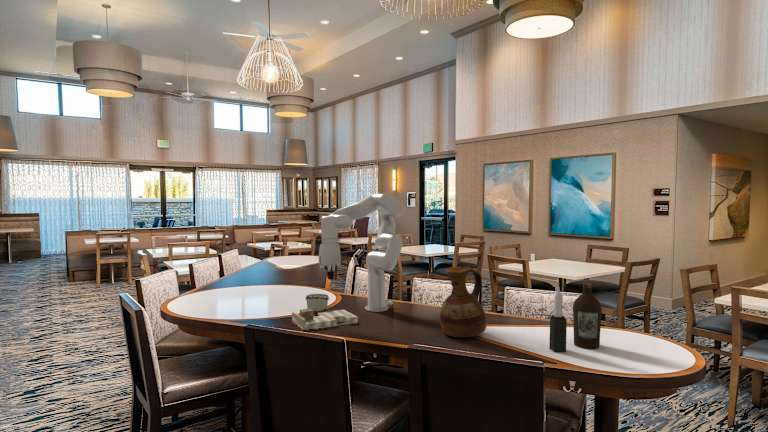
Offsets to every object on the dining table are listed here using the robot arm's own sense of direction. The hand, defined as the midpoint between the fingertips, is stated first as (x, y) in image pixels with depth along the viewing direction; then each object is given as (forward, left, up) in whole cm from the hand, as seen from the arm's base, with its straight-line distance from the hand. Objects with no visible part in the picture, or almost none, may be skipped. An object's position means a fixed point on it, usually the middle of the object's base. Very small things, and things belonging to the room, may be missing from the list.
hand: (330, 279), depth 208 cm
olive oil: (-76, +84, -21) cm, 115 cm away
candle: (-61, +82, -21) cm, 104 cm away
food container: (0, -16, -21) cm, 26 cm away
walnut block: (+12, +1, -18) cm, 22 cm away
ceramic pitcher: (-42, +48, -21) cm, 67 cm away
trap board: (+3, +1, -21) cm, 21 cm away
